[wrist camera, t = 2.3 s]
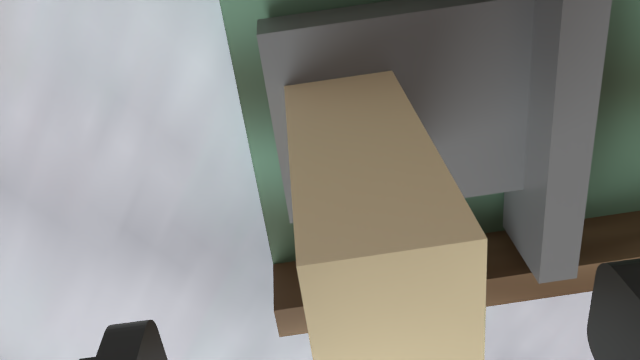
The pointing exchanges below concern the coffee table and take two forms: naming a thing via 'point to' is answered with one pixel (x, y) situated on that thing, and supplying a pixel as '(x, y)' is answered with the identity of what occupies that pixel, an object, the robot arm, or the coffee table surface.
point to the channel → (502, 256)
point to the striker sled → (429, 159)
